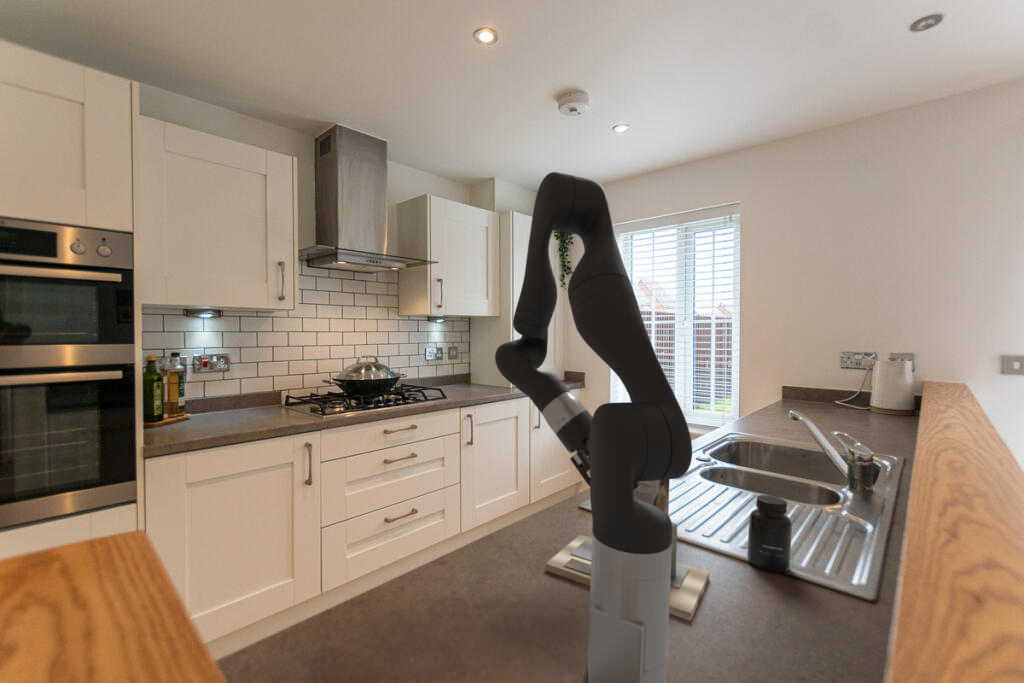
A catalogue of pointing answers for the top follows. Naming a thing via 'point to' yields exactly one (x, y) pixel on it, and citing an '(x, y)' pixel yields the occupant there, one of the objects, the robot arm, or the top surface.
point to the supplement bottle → (770, 535)
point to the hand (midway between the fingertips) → (627, 494)
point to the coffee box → (654, 493)
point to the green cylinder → (673, 549)
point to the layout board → (682, 586)
